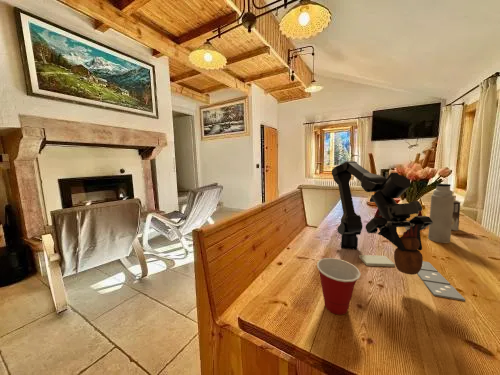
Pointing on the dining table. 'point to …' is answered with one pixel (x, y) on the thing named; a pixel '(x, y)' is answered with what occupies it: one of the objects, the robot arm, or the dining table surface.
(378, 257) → the folded napkin
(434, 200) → the thermos bottle
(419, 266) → the wooden figurine
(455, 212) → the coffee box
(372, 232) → the robot arm
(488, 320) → the dining table surface
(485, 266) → the dining table surface
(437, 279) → the pad
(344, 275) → the plastic cup
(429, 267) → the pad
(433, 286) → the pad
